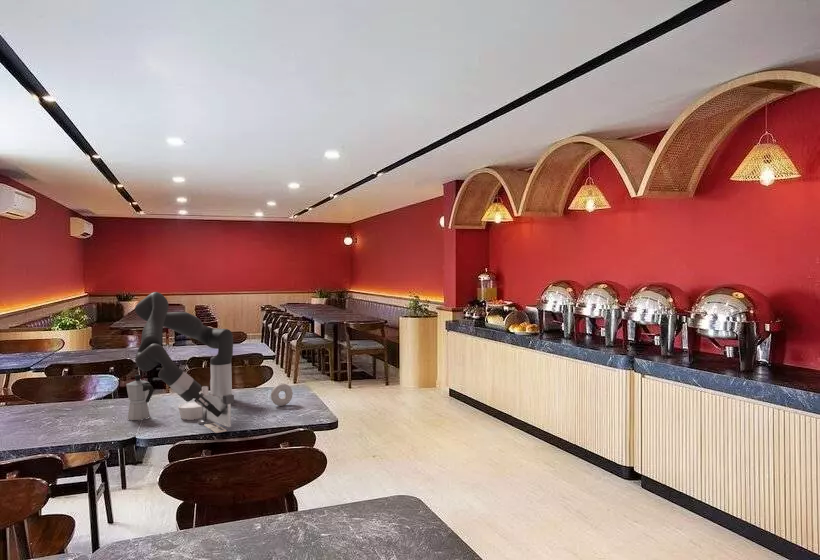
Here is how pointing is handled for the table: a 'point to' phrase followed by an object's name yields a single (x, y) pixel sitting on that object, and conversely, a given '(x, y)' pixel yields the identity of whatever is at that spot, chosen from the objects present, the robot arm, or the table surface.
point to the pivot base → (204, 421)
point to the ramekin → (190, 411)
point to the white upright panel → (221, 404)
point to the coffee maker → (139, 398)
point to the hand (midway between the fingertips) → (219, 414)
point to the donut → (277, 390)
